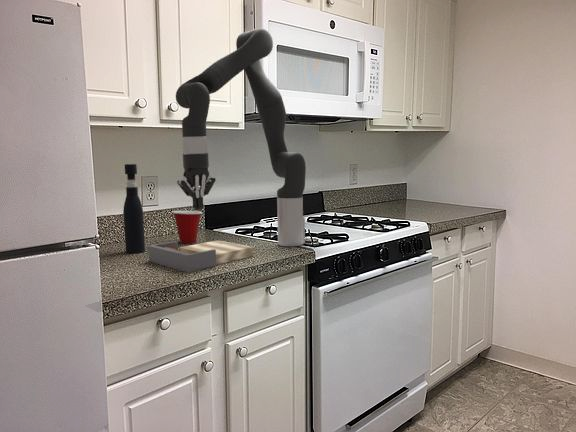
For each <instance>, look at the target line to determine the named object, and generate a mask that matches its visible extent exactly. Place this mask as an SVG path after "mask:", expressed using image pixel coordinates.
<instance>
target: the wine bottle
mask: <svg viewBox="0 0 576 432" xmlns="http://www.w3.org/2000/svg"><path fill="white" fill-rule="evenodd" d="M137 167H138V165H137V164H136V163H127V164H124V174H125V175H126V177H127V178H126V180H127V181H126V187H125V190H126V196H125V200H124V203H123V226H124V228H123V230H124V243H125V244H124V246H125V254H142V253H145V252H146V245H145V242H146V241H145V227H144V224H145V223H144V210H143V205H142V202H141V199H140V196H139V188H138V185H137V183H138V182H137V181H136V175H137V174H138V168H137Z"/></svg>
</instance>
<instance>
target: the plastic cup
mask: <svg viewBox="0 0 576 432" xmlns="http://www.w3.org/2000/svg"><path fill="white" fill-rule="evenodd" d="M172 213H173V215H174V218H175V222H176V228H177V233H178V237H179V242H180V243H181V244H183V245H185V244H186V245H189V244H195V243H196V242H197V237H198V233H199V223H200V219H201V215H202V214H203V212H202V211H200V210H173V211H172Z"/></svg>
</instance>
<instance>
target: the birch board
mask: <svg viewBox="0 0 576 432" xmlns="http://www.w3.org/2000/svg"><path fill="white" fill-rule="evenodd" d="M212 249H215V250H216V265H221V264H225V263H229V262H233V261H238V260H242V259H246V258H251V257H253V256H254V247H253V246H249V245H245V244H244V245H243V244H238V243H234V242H229V241H223V240H217V239H216V240H213V241H212V240H211V241H207V242H201V243H196V244H195V243H194V244H192V245H185V246H180V247H179V252H183V253H187V254H192V253H197V252H202V251H207V250H212Z"/></svg>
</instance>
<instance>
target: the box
mask: <svg viewBox="0 0 576 432" xmlns="http://www.w3.org/2000/svg"><path fill="white" fill-rule="evenodd" d="M147 247H148V262H149V263H154V264H158V265H161V266H164V267H166V268H172V269H174V270H177V271H181V272H184V273H191V272H195V271H201V270H205V269H209V268H213V267H214V268H215V267H217V264H216V250H215V249H212V250H207V251H202V252H197V253H192V254H187V253H183V252H180V250H179V241H177V240H174V241H167V242H161V243H156V244H151V245H148V246H147ZM165 247H168V248H173V249H176V250H178V251H175V250H171V249H167V248H165Z"/></svg>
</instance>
